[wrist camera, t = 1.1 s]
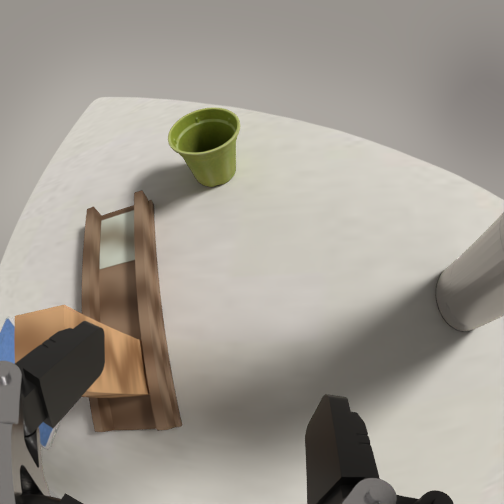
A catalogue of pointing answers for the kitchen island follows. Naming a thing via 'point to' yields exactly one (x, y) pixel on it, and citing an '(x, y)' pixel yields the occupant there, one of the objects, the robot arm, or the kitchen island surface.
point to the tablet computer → (3, 350)
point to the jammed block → (116, 350)
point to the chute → (129, 311)
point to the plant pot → (207, 144)
